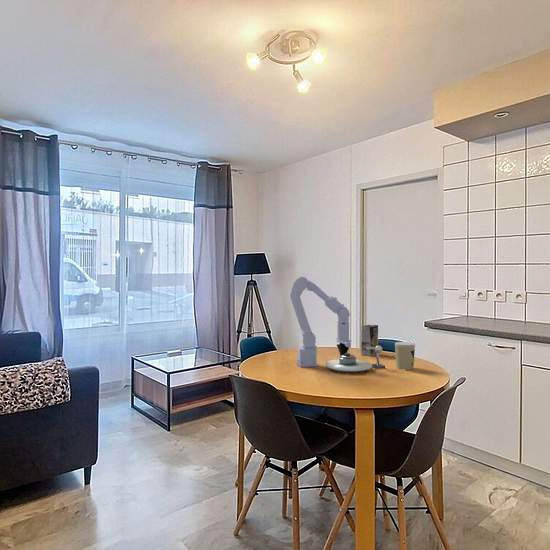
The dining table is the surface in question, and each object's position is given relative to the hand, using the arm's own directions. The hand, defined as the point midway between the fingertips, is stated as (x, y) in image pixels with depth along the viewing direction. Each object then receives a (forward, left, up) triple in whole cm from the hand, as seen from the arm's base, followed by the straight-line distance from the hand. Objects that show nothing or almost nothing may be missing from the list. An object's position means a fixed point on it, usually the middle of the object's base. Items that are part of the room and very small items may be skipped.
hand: (343, 358), depth 210 cm
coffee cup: (+27, -11, -3) cm, 29 cm away
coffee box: (+24, +23, -3) cm, 33 cm away
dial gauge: (+13, -7, -3) cm, 15 cm away
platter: (0, -7, -2) cm, 7 cm away
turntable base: (0, -7, -3) cm, 8 cm away
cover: (0, -6, -1) cm, 6 cm away
